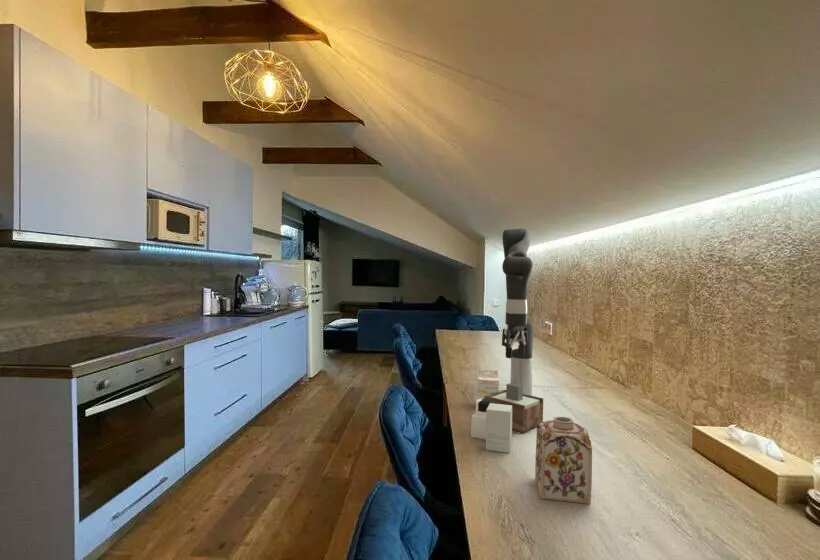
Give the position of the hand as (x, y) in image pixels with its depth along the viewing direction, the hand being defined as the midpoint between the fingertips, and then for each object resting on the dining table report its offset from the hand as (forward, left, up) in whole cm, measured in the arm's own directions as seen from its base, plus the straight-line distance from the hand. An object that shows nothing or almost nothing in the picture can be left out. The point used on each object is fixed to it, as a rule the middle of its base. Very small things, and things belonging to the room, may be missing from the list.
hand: (515, 356), depth 158 cm
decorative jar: (+35, +35, -25) cm, 55 cm away
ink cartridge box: (-10, -18, -25) cm, 32 cm away
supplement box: (+23, +9, -25) cm, 35 cm away
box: (0, 0, -24) cm, 24 cm away
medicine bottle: (+18, 0, -25) cm, 30 cm away
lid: (0, 0, -16) cm, 16 cm away
